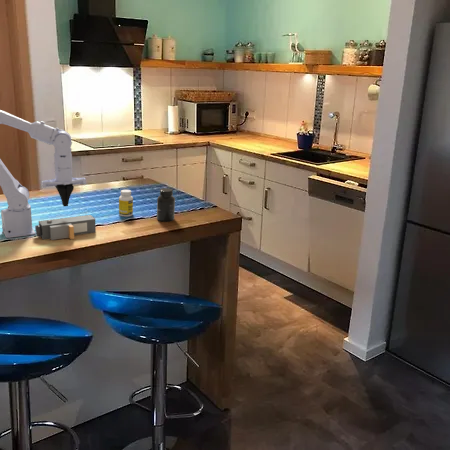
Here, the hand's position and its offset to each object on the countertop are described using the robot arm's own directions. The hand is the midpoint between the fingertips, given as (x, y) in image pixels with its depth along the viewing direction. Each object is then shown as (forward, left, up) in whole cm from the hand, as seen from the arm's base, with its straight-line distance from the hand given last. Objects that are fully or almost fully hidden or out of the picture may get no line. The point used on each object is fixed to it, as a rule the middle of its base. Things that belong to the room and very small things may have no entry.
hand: (65, 205), depth 173 cm
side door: (-4, -8, -9) cm, 13 cm away
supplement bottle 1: (+26, +9, -10) cm, 29 cm away
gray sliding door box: (0, -3, -9) cm, 10 cm away
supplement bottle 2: (+38, -2, -10) cm, 39 cm away
